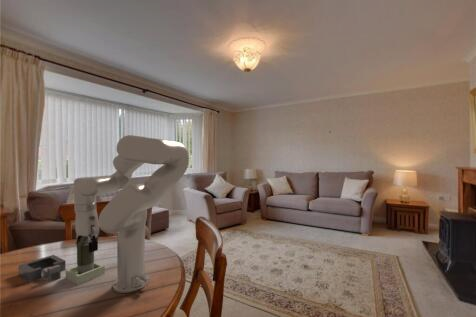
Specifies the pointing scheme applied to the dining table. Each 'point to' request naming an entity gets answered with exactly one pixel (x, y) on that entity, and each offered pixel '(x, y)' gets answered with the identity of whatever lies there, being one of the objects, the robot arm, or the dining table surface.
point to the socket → (39, 267)
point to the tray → (84, 274)
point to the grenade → (84, 256)
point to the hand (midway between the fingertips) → (87, 249)
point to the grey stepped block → (52, 273)
